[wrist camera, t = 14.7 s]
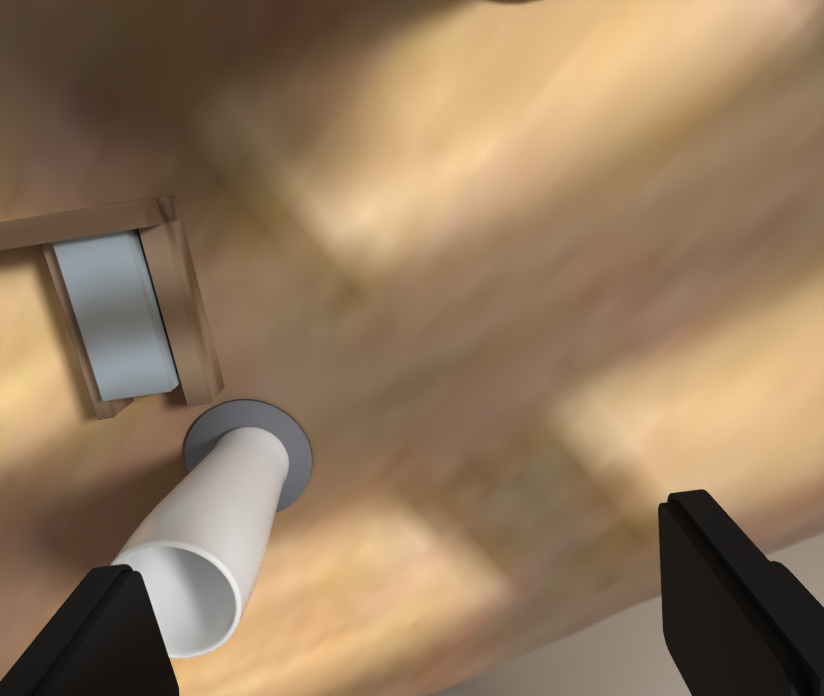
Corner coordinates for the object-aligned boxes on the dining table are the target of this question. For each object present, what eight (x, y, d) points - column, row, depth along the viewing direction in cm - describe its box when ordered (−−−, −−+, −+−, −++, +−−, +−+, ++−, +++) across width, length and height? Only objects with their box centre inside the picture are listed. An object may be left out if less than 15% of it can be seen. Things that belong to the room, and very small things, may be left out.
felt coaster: (172, 408, 42) (169, 411, 42) (298, 390, 42) (297, 392, 41) (204, 521, 45) (202, 523, 44) (323, 504, 44) (322, 507, 44)
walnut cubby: (-96, 239, 39) (-167, 249, 34) (175, 195, 38) (140, 199, 33) (-24, 423, 43) (-80, 455, 38) (224, 387, 42) (199, 415, 37)
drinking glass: (314, 487, 43) (263, 644, 29) (225, 510, 44) (133, 675, 30) (282, 403, 42) (211, 525, 27) (191, 427, 42) (74, 559, 28)
